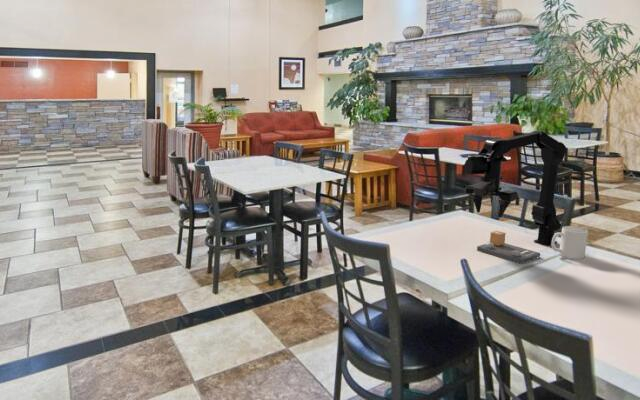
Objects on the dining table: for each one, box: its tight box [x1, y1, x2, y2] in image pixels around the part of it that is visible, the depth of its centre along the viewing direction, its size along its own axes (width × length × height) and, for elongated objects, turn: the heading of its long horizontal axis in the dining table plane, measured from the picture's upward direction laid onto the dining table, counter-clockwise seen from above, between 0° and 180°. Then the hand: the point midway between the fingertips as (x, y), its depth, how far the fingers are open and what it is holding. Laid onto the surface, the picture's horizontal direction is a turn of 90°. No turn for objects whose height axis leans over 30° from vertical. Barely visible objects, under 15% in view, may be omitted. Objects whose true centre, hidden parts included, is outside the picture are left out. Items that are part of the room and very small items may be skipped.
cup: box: [550, 225, 589, 261], centre depth 177 cm, size 8×12×10 cm
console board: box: [476, 242, 541, 264], centre depth 180 cm, size 12×18×3 cm, turn 37°
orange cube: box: [489, 230, 506, 246], centre depth 185 cm, size 4×4×4 cm
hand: (489, 214), depth 184 cm, fingers open, 9 cm apart
